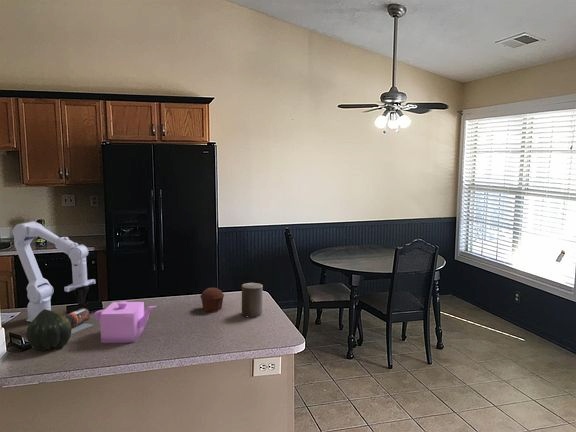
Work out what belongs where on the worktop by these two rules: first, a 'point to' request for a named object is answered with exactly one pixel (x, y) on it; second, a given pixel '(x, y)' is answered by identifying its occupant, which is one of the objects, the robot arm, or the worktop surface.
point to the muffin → (212, 299)
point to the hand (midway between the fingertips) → (81, 303)
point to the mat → (80, 327)
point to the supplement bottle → (78, 317)
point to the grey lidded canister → (252, 299)
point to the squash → (48, 330)
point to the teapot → (122, 321)
